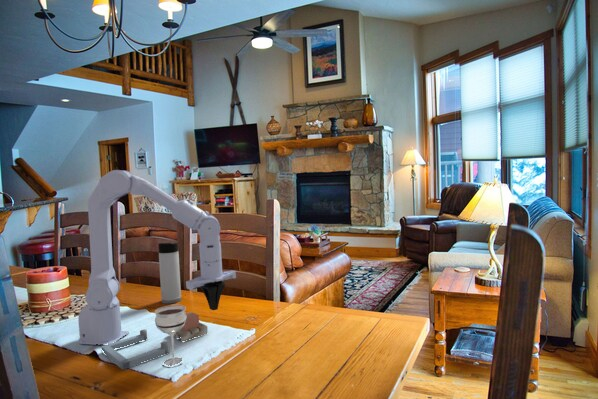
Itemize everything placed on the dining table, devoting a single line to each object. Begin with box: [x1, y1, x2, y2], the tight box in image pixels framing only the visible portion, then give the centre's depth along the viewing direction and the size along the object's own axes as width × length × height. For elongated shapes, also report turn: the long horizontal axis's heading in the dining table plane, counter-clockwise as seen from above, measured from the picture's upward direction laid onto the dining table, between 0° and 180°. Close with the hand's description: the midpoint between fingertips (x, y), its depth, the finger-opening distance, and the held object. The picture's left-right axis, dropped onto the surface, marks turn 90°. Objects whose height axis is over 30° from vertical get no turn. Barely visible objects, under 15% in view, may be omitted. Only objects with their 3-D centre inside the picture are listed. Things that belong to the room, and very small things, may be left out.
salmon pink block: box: [182, 311, 200, 331], centre depth 106 cm, size 4×4×3 cm
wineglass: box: [154, 304, 187, 366], centre depth 90 cm, size 7×7×12 cm
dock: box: [100, 329, 169, 371], centre depth 96 cm, size 11×13×2 cm
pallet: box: [174, 321, 208, 342], centre depth 106 cm, size 7×7×2 cm
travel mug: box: [157, 242, 182, 305], centre depth 135 cm, size 6×7×20 cm
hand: (213, 309), depth 111 cm, fingers closed
